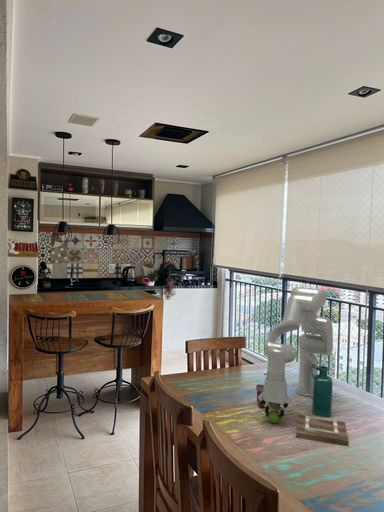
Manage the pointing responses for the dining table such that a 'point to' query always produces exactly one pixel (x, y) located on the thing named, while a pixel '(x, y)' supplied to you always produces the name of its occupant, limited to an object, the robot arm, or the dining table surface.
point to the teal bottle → (322, 392)
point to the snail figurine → (274, 412)
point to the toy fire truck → (259, 391)
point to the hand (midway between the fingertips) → (274, 415)
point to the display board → (321, 430)
